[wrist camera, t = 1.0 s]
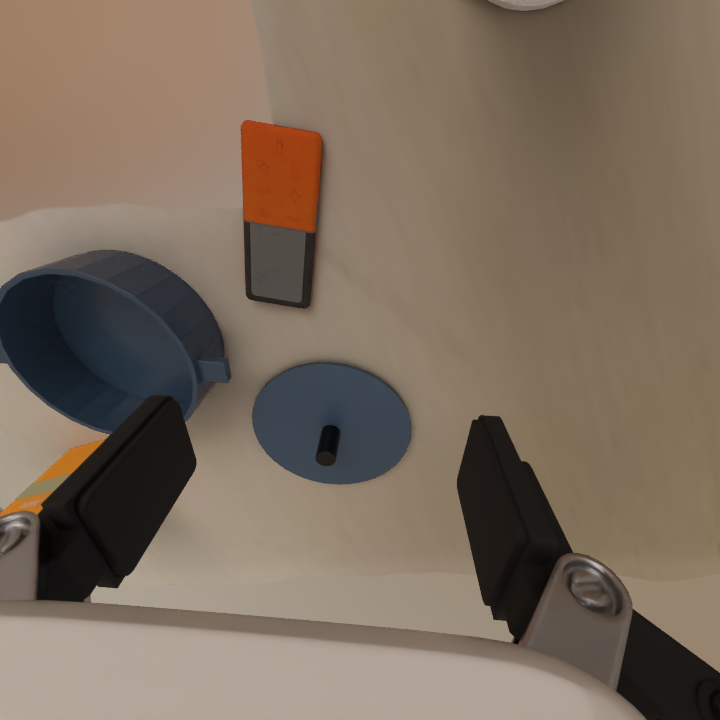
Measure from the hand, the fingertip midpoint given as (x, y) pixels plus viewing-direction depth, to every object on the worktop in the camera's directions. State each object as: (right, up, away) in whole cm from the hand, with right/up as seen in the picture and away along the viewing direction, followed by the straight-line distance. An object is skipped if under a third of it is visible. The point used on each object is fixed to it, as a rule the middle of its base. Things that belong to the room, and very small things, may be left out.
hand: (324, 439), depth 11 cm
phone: (-6, +15, +20) cm, 26 cm away
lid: (-3, -6, +32) cm, 33 cm away
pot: (-24, +5, +27) cm, 36 cm away
